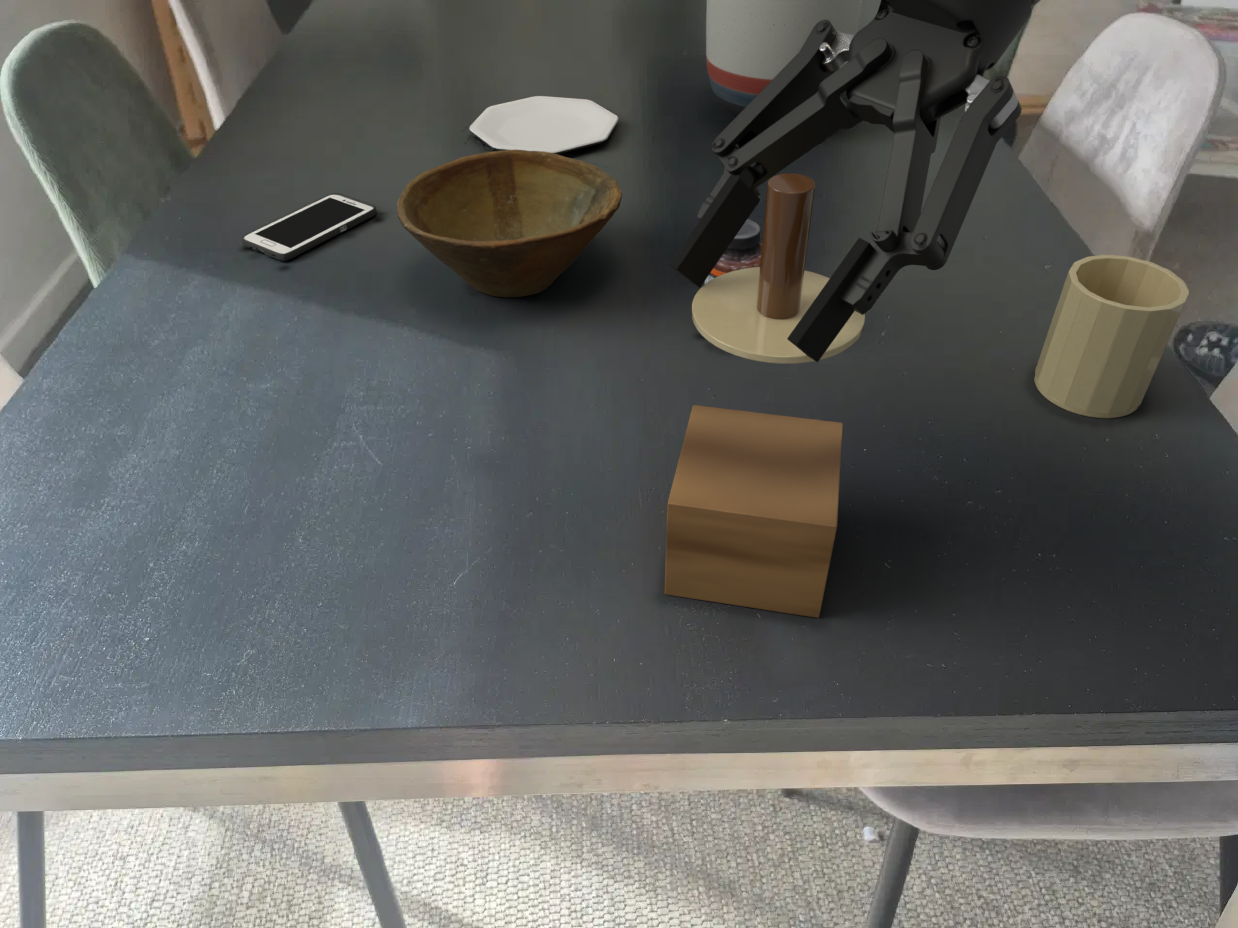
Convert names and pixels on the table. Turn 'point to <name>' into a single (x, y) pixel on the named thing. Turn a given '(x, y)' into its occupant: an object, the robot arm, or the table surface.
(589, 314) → the table surface
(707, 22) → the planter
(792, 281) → the lid
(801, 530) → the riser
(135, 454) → the table surface
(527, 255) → the bowl
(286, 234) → the cell phone
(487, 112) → the plate
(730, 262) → the supplement bottle
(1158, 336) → the jar
